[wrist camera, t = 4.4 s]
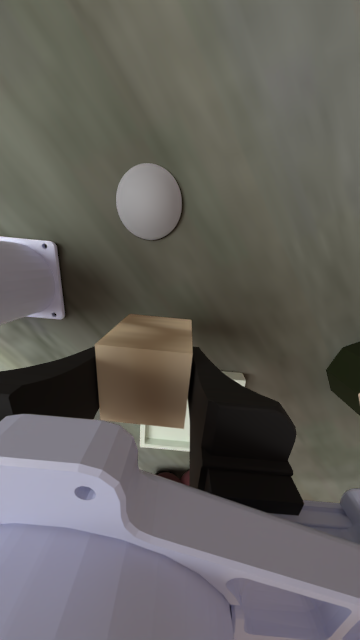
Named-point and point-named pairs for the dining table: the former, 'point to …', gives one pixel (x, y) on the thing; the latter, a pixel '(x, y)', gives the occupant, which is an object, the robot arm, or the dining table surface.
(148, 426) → the tray
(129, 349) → the block
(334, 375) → the wine bottle
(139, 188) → the pad
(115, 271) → the dining table surface
